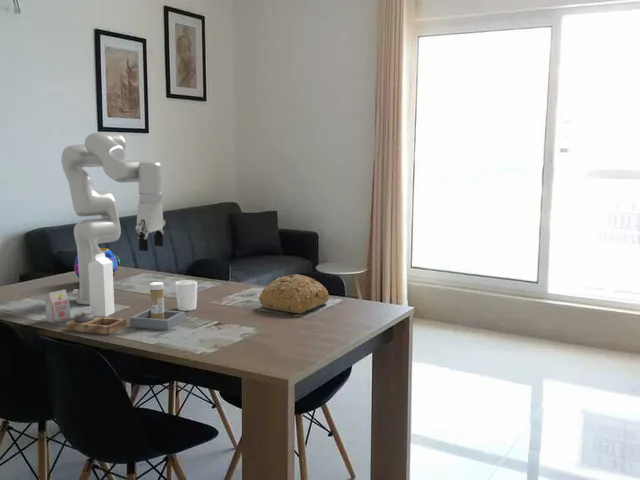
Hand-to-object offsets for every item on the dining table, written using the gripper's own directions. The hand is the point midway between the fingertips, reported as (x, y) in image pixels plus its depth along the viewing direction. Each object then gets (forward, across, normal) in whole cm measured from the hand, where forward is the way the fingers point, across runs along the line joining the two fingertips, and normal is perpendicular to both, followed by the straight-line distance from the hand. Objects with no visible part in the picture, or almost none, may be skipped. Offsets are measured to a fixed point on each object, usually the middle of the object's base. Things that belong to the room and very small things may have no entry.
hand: (151, 248), depth 225 cm
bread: (+25, -32, +42) cm, 58 cm away
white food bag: (+26, +10, -31) cm, 42 cm away
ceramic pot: (+27, -43, -53) cm, 73 cm away
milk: (+26, 0, -20) cm, 33 cm away
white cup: (+25, -16, +4) cm, 31 cm away
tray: (+25, +5, +5) cm, 26 cm away
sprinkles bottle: (+25, +4, +5) cm, 25 cm away
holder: (+25, +16, -11) cm, 32 cm away
